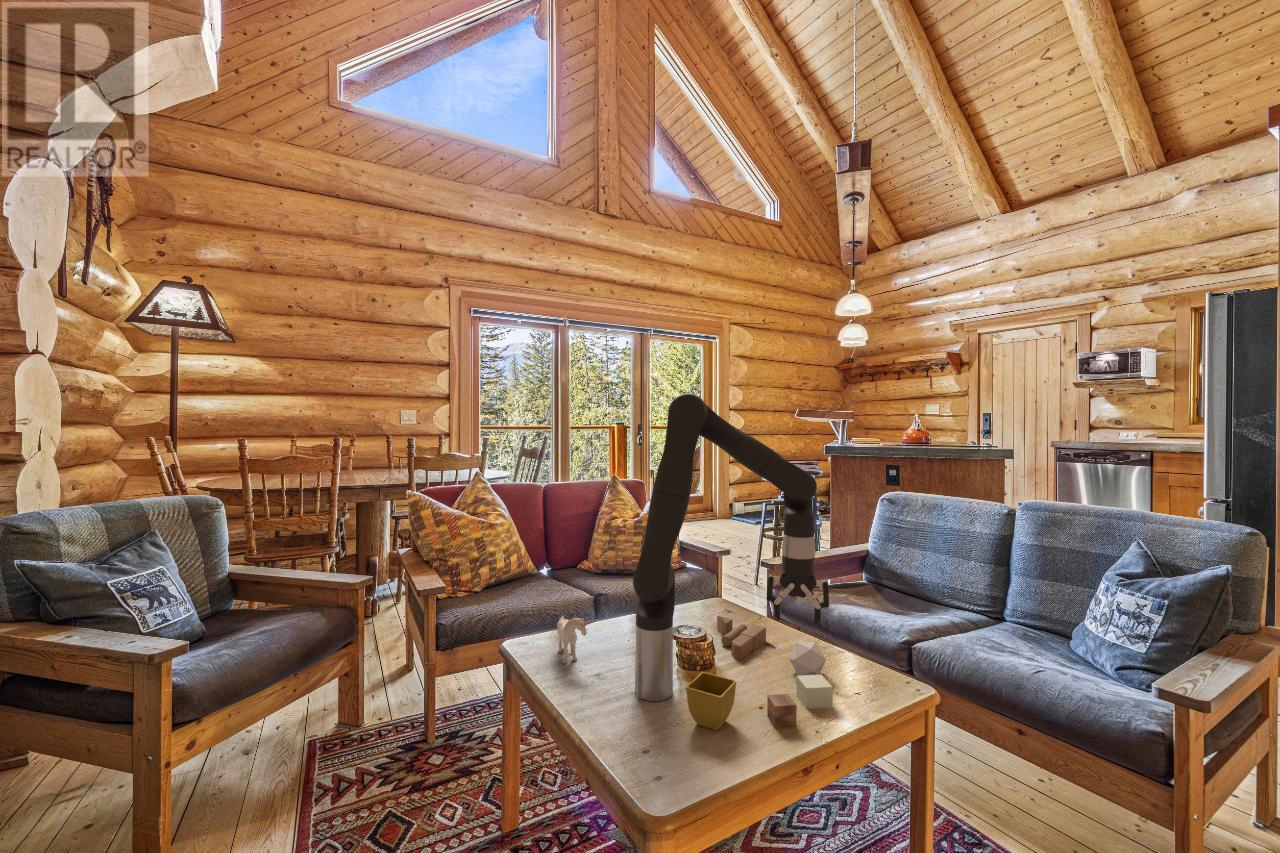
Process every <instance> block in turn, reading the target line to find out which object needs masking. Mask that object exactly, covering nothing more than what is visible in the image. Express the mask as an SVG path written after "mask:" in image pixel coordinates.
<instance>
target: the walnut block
mask: <svg viewBox="0 0 1280 853" xmlns="http://www.w3.org/2000/svg"><path fill="white" fill-rule="evenodd" d="M766 700H767V705H766V706H767V709H766V710H767V712H766V713H767V714H766V716H767V718H768V720H769V721H770V723H771V725H772V727H774V729H781V728H782V729H787V728H797V727H798V726H797V725H798V724H797V721H798V720H797V719H798V718H797V712H798V711H797V704H796V702H795V701H794V698H792V696H790V694H789V693H783V694H782V693H781V694H780V693H779V694H767V699H766Z"/></svg>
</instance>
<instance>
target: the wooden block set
mask: <svg viewBox="0 0 1280 853" xmlns="http://www.w3.org/2000/svg"><path fill="white" fill-rule="evenodd" d="M716 621H717V622H716V629H717V631H718V632H719V633H720V634H721V644H722V645H723V646H724V647H725V648H729V647H731V655H732V656H733V658H734V659H737V660H740V661H741V660H742V659H744V658H745V657H746V656H748V655H749V654H750V653H752V651H756V650H757V649H758V648H760V647H761V646H762V645H764V643H765V642H767V628H766V627H765V626H761V625H756V624H752V625H750V626H747V625H746V624H745V623H744V624H743V623H741V624H739V625H738V626H736V627H735V628H733V618H729V617H725V616H721V615H716Z"/></svg>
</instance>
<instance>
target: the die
mask: <svg viewBox="0 0 1280 853" xmlns="http://www.w3.org/2000/svg"><path fill="white" fill-rule="evenodd" d="M788 660H789V661H790V664H791V665H792V667H793V669H794V670H795V672H796V674H797V676H801V675H821V674H822V673H821V672H822V670H823V668H824V666H825V663H826V661H827V658H826V657H825V655H824V653H823V652H822V650H821V649H820V647H819V645H818V644H817V642H816V641H795V644H794V645H793V648H792V650H791V652H790V656H789V657H788Z"/></svg>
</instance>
